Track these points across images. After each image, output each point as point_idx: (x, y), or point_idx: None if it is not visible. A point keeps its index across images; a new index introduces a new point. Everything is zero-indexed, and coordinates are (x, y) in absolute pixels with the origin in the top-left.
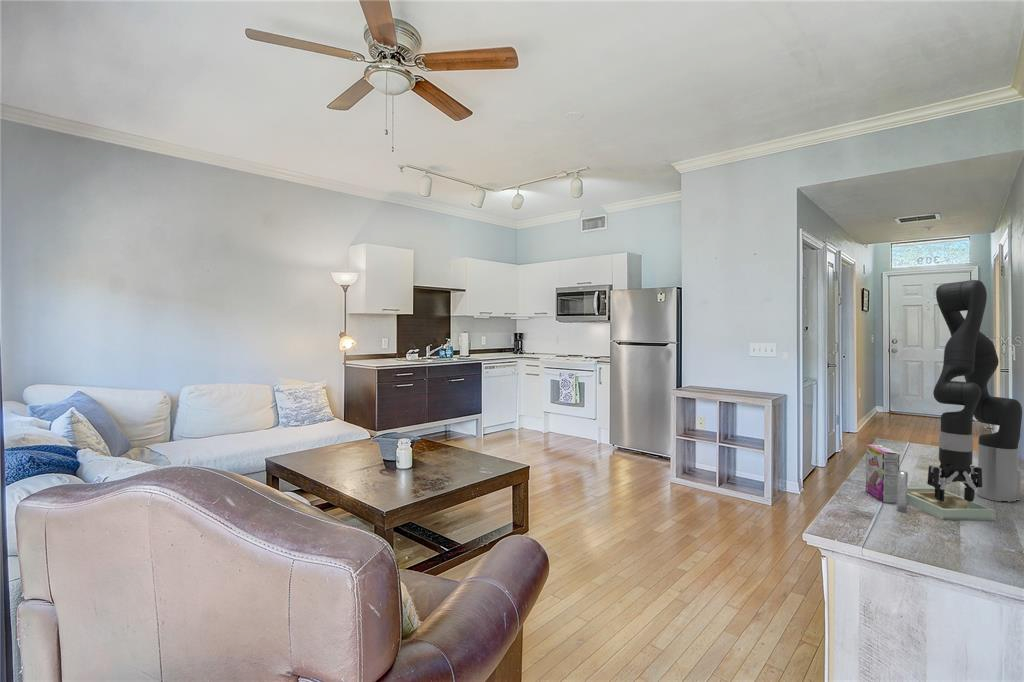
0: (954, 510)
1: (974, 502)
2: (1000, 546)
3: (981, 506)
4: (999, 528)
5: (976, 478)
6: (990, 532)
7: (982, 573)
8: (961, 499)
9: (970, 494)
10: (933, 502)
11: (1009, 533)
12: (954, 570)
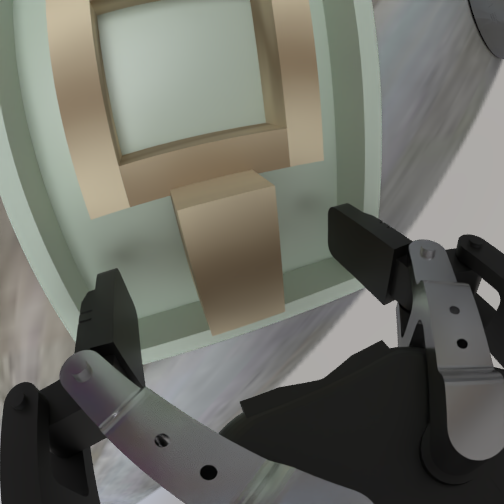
0: (159, 356)
1: (375, 177)
2: None
3: None
4: (284, 343)
5: (487, 335)
6: (222, 388)
7: (104, 500)
8: (270, 290)
9: (360, 277)
10: (100, 212)
11: (280, 372)
12: None
